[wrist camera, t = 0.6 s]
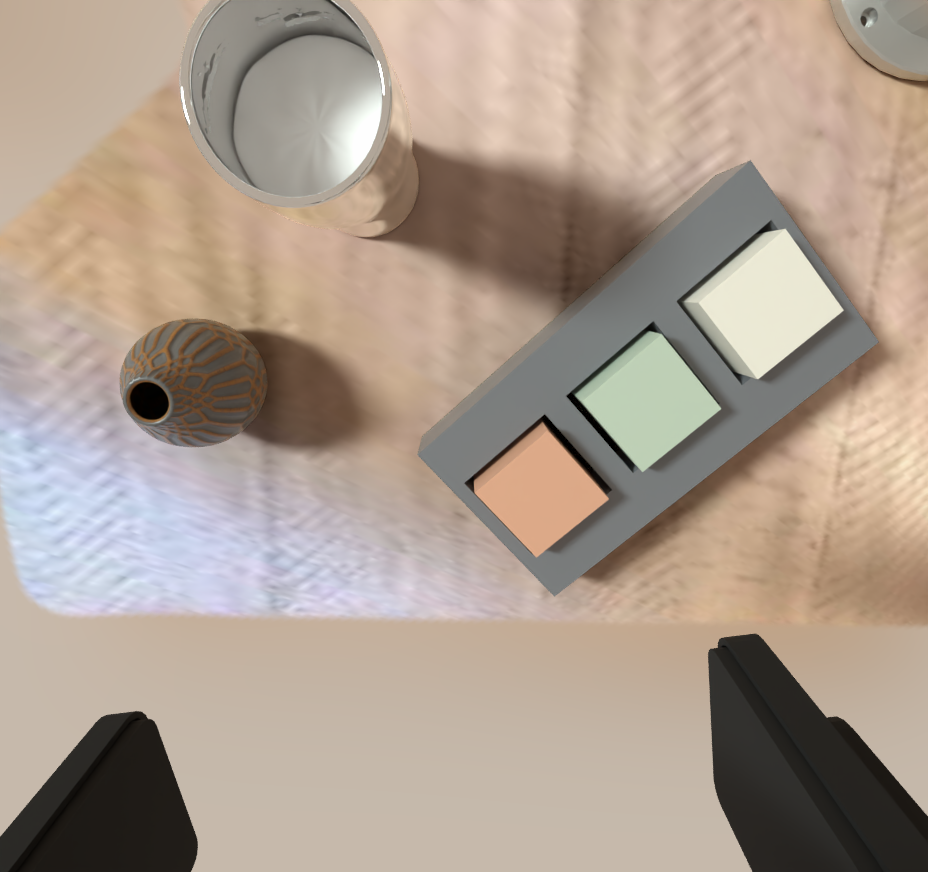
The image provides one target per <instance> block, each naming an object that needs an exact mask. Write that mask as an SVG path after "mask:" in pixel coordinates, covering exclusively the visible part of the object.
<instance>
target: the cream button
mask: <svg viewBox="0 0 928 872" xmlns="http://www.w3.org/2000/svg"><path fill="white" fill-rule="evenodd" d="M676 302H677V303H678V304H679V306H680V307H681V308H682V309H683V311H684V312H685V313H686V315H687V316H688V317H689V318H690V320H691V321H692V322H693V323H694V325H695V326H696V327H697V329H698V330H699V331H700V332H701V334H702V335H703V336H704V337H705V339H706V340H707V341H708V343H709V344H710V345H711V346H712V348H713V349H714V350H715V351H716V353H717V354H718V355H719V357H720V358H721V359H722V360H723V362H724V363H725V364H726V365H727V367H728V368H729V369H730V371H733V372H736V373H739V374H742V375H745V376H749V377H752V378H755V379H759V378H760V377H762V376H763V375H764V374H765V373H766V372H768V371H769V370H770V369H771V368H773V367H774V366H775V365H776V364H778V363H779V362H780V361H781V360H783V359H784V358H785V357H786V356H788V355H789V354H790V353H791V352H793V351H794V350H795V349H796V348H798V347H799V346H800V345H801V344H803V343H804V342H805V341H806V340H808V339H809V338H810V337H811V336H812V335H814V334H815V333H816V332H817V331H819V330H820V329H821V328H822V327H824V326H825V325H826V324H827V323H829V322H830V321H831V320H832V319H834V318H835V317H836V316H837V315H839V314H840V313H841V312H842V311H844V310H843V309H842V307H841V306H840V304H839V303H838V302H837V300H836V299H835V297H834V296H833V295H832V293H831V292H830V290H829V289H828V288H827V286H826V285H825V283H824V282H823V281H822V279H821V278H820V276H819V275H818V274H817V272H816V271H815V269H814V268H813V267H812V265H811V264H810V262H809V261H808V260H807V258H806V257H805V255H804V254H803V253H802V251H801V250H800V248H799V247H798V246H797V244H796V243H795V241H794V240H793V239H792V237H791V236H790V234H789V233H788V232H787V230H786V229H782V230H776V231H770V232H764V233H759V234H754V235H753V236H752V237H751V238H750V239H748V240H747V241H746V242H745V243H744V244H743V245H741V246H740V247H739V248H738V249H737V250H736V251H734V252H733V253H732V254H731V255H730V256H729V257H727V258H726V259H725V260H724V261H723V262H722V263H720V264H719V265H718V266H717V267H716V268H715V269H713V270H712V271H711V272H710V273H709V274H708V275H706V276H705V277H704V278H703V279H702V280H701V281H699V282H698V283H697V284H696V285H695V286H694V287H692V288H691V289H690V290H689V291H688V292H687V293H685V294H684V295H683V296H682V297H681V298H680V299H678V300H677V301H676Z"/></svg>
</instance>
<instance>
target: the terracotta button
mask: <svg viewBox="0 0 928 872" xmlns="http://www.w3.org/2000/svg"><path fill="white" fill-rule="evenodd" d="M473 478H474V492H475V494H476V495H477V496H478V497H479V498H480V499H481V500H482V501H483V502H484V503H485V504H486V505H487V507H488V508H489V509H490V510H491V511H492V512H493V513H494V514H495V515H496V516H497V517H498V518H499V519H500V520H501V521H502V522H503V523H504V524H505V525H506V526H507V527H508V528H509V530H510V531H511V532H512V533H513V534H514V535H515V536H516V537H517V538H518V539H519V540H520V541H521V542H522V543H523V544H524V545H525V546H526V547H527V548H528V549H529V550H530V551H531V552H532V554H533V555H534V556H535V557H536V558H537V557H538V556H539V555H540V554H542V553H543V552H544V551H545V550H546V549H548V548H549V547H550V546H551V545H553V544H554V543H555V542H556V541H558V540H559V539H560V538H561V537H563V536H564V535H565V534H566V533H568V532H569V531H570V530H571V529H573V528H574V527H575V526H576V525H578V524H579V523H580V522H581V521H583V520H584V519H585V518H586V517H588V516H589V515H590V514H591V513H592V512H594V511H595V510H596V509H597V508H599V507H600V506H601V505H602V504H604V503H605V502H606V501H607V500H609V498H608V497H607V495H606V494H605V492H604V491H603V490H602V488H601V487H600V485H599V484H598V482H597V481H596V479H595V478H594V477H593V475H592V474H591V473H590V472H589V471H588V470H587V469H586V467H585V466H584V465H583V464H582V463H581V462H580V461H579V460H578V458H577V457H576V456H575V455H574V454H573V453H572V452H571V451H570V449H569V448H568V447H567V446H566V445H565V444H564V443H563V442H562V440H561V439H560V438H559V437H558V436H557V435H556V434H555V433H554V432H553V430H552V429H551V428H550V427H549V426H548V425H547V424H546V423H545V421H544V420H543V419H542V418H540V419H538V420H537V421H536V422H535V423H534V424H533V425H531V426H530V427H529V428H528V429H527V430H526V431H524V432H523V433H522V434H521V435H520V436H519V437H517V438H516V439H515V440H514V441H513V442H512V443H510V444H509V445H508V446H507V447H506V448H505V449H503V450H502V451H501V452H500V453H499V454H498V455H496V456H495V457H494V458H493V459H492V460H491V461H489V462H488V463H487V464H486V465H485V466H484V467H482V468H481V469H480V470H479V471H478V472H477V473H475V474H474V475H473Z"/></svg>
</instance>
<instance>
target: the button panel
mask: <svg viewBox="0 0 928 872" xmlns="http://www.w3.org/2000/svg"><path fill="white" fill-rule="evenodd" d="M782 229H786V230H787V232H788V233H789V234H790V236H791V237H792V239H793V240H794V241H795V243H796V244H797V246H798V247H799V248H800V250H801V251H802V253H803V254H804V255H805V257H806V258H807V260H808V261H809V262H810V264H811V265H812V267H813V268H814V269H815V271H816V272H817V274H818V275H819V276H820V278H821V279H822V281H823V282H824V283H825V285H826V286H827V288H828V289H829V290H830V292H831V293H832V295H833V296H834V297H835V299H836V300H837V302H838V303H839V304H840V306H841V307H842V309H843V310H844V311H842V312H841V313H840V314H839V315H837V316H836V317H835V318H834V319H832V320H831V321H830V322H829V323H827V324H826V325H825V326H824V327H822V328H821V329H820V330H819V331H817V332H816V333H815V334H814V335H812V336H811V337H810V338H809V339H808V340H806V341H805V342H804V343H803V344H801V345H800V346H799V347H798V348H796V349H795V350H794V351H793V352H791V353H790V354H789V355H788V356H786V357H785V358H784V359H783V360H781V361H780V362H779V363H778V364H776V365H775V366H774V367H773V368H771V369H770V370H769V371H768V372H766V373H765V374H764V375H763V376H762V377H760V378H759V379H755V378H752V377H749V376H745V375H742V374H739V373H736V372H733V371H730V369H729V368H728V367H727V365H726V364H725V363H724V362H723V360H722V359H721V358H720V357H719V355H718V354H717V353H716V351H715V350H714V349H713V348H712V346H711V345H710V344H709V343H708V341H707V340H706V339H705V337H704V336H703V335H702V334H701V332H700V331H699V330H698V329H697V327H696V326H695V325H694V323H693V322H692V321H691V320H690V318H689V317H688V316H687V315H686V313H685V312H684V311H683V309H682V308H681V307H680V306H679V304H678V303H677V302H676V301H677V300H678V299H680V298H681V297H682V296H683V295H684V294H685V293H687V292H688V291H689V290H690V289H691V288H692V287H694V286H695V285H696V284H697V283H698V282H699V281H701V280H702V279H703V278H704V277H705V276H706V275H708V274H709V273H710V272H711V271H712V270H713V269H715V268H716V267H717V266H718V265H719V264H720V263H722V262H723V261H724V260H725V259H726V258H727V257H729V256H730V255H731V254H732V253H733V252H734V251H736V250H737V249H738V248H739V247H740V246H741V245H743V244H744V243H745V242H746V241H747V240H748V239H750V238H751V237H752V236H753V235H754V234H759V233H764V232H770V231H776V230H782ZM642 330H647V331H651V332H655V333H659V334H662V335H663V337H664V338H665V339H666V340H667V341H668V343H669V344H670V345H671V346H672V348H673V349H674V350H675V351H676V353H677V354H678V355H679V356H680V358H681V359H682V360H683V361H684V363H685V364H686V365H687V366H688V368H689V369H690V370H691V371H692V373H693V374H694V375H695V376H696V378H697V379H698V380H699V381H700V383H701V384H702V385H703V386H704V388H705V389H706V390H707V391H708V392H709V394H710V395H711V396H712V397H713V399H714V400H715V401H716V402H717V404H718V405H719V406H720V407H721V410H719V411H718V412H717V413H716V414H714V415H713V416H712V417H711V418H709V419H708V420H707V421H706V422H704V423H703V424H702V425H701V426H699V427H698V428H697V429H696V430H694V431H693V432H692V433H691V434H689V435H688V436H687V437H686V438H684V439H683V440H682V441H681V442H679V443H678V444H677V445H676V446H675V447H673V448H672V449H671V450H670V451H668V452H667V453H666V454H665V455H663V456H662V457H661V458H660V459H658V460H657V461H656V462H655V463H653V464H652V465H651V466H650V467H648V468H647V469H646V470H645V471H643V472H642V471H641V470H640V469H639V468H638V467H637V466H636V465H635V464H634V463H633V462H632V461H631V460H630V459H629V458H628V457H627V456H626V455H625V454H624V453H623V452H622V450H621V449H619V450H618V451H617V452H614V451H613V450H612V448H611V447H610V446H609V445H608V444H607V443H606V442H605V440H604V439H603V438H602V437H601V436H600V435H599V433H598V432H597V431H596V430H595V429H594V428H593V427H592V425H591V424H590V423H589V422H588V421H587V420H586V419H585V417H584V416H583V415H582V414H581V413H580V412H579V411H578V409H577V408H576V407H575V406H574V405H573V404H572V403H571V401H570V400H569V399H568V398H567V397H566V395H568V394H569V393H570V392H571V391H572V390H573V389H575V388H576V387H577V386H578V385H579V384H580V383H582V382H583V381H584V380H585V379H586V378H587V377H589V376H590V375H591V374H592V373H593V372H594V371H596V370H597V369H598V368H599V367H600V366H601V365H603V364H604V363H605V362H606V361H607V360H608V359H610V358H611V357H612V356H613V355H614V354H615V353H617V352H618V351H619V350H620V349H621V348H622V347H624V346H625V345H626V344H627V343H628V342H629V341H631V340H632V339H633V338H634V337H635V336H636V335H638V334H639V333H640V332H641V331H642ZM878 342H879V341H878V340H877V338H876V337H875V336H874V334H873V333H872V331H871V330H870V328H869V327H868V326H867V324H866V323H865V321H864V320H863V319H862V317H861V316H860V314H859V313H858V312H857V310H856V309H855V307H854V306H853V304H852V303H851V302H850V300H849V299H848V297H847V296H846V295H845V293H844V292H843V290H842V289H841V288H840V286H839V285H838V283H837V282H836V280H835V279H834V278H833V276H832V275H831V273H830V272H829V271H828V269H827V268H826V266H825V265H824V264H823V262H822V261H821V259H820V258H819V256H818V255H817V254H816V252H815V251H814V249H813V248H812V247H811V245H810V244H809V242H808V241H807V240H806V238H805V237H804V235H803V234H802V232H801V231H800V230H799V228H798V227H797V225H796V224H795V223H794V221H793V220H792V218H791V217H790V216H789V214H788V213H787V211H786V210H785V208H784V207H783V206H782V204H781V203H780V201H779V200H778V199H777V197H776V196H775V194H774V193H773V192H772V190H771V189H770V187H769V186H768V184H767V183H766V182H765V180H764V179H763V177H762V176H761V175H760V173H759V172H758V170H757V169H756V167H755V166H754V165H753V163H752V162H751V160H750V161H748V162H746V163H743V164H741V165H739V166H736V167H734V168H732V169H729V170H727V171H725V172H722V173H720V174H718V175H715V176H714V177H713V178H712V179H711V180H710V181H709V182H708V183H706V184H705V185H704V186H703V187H702V188H701V189H700V190H699V191H697V192H696V193H695V194H694V195H693V196H692V197H691V198H690V199H688V200H687V201H686V202H685V203H684V204H683V205H682V206H681V207H679V208H678V209H677V210H676V211H675V212H674V213H673V214H672V215H670V216H669V217H668V218H667V219H666V220H665V221H664V222H663V223H661V224H660V225H659V226H658V227H657V228H656V229H655V230H654V231H653V232H651V233H650V234H649V235H648V236H647V237H646V238H645V239H644V240H642V241H641V242H640V243H639V244H638V245H637V246H636V247H635V248H633V249H632V250H631V251H630V252H629V253H628V254H627V255H626V256H624V257H623V258H622V259H621V260H620V261H619V262H618V263H617V264H615V265H614V266H613V267H612V268H611V269H610V270H609V271H608V272H606V273H605V274H604V275H603V276H602V277H601V278H600V279H599V280H597V281H596V282H595V283H594V284H593V285H592V286H591V287H590V288H588V289H587V290H586V291H585V292H584V293H583V294H582V295H581V296H579V297H578V298H577V299H576V300H575V301H574V302H573V303H572V304H571V305H569V306H568V307H567V308H566V309H565V310H564V311H563V312H562V313H560V314H559V315H558V316H557V317H556V318H555V319H554V320H553V321H551V322H550V323H549V324H548V325H547V326H546V327H545V328H544V329H542V330H541V331H540V332H539V333H538V334H537V335H536V336H535V337H533V338H532V339H531V340H530V341H529V342H528V343H527V344H526V345H524V346H523V347H522V348H521V349H520V350H519V351H518V352H517V353H515V354H514V355H513V356H512V357H511V358H510V359H509V360H508V361H506V362H505V363H504V364H503V365H502V366H501V367H500V368H499V369H497V370H496V371H495V372H494V373H493V374H492V375H491V376H490V377H488V378H487V379H486V380H485V381H484V382H483V383H482V384H481V385H480V386H478V387H477V388H476V389H475V390H474V391H473V392H472V393H471V394H469V395H468V396H467V397H466V398H465V399H464V400H463V401H462V402H460V403H459V404H458V405H457V406H456V407H455V408H454V409H453V410H451V411H450V412H449V413H448V414H447V415H446V416H445V417H444V418H442V419H441V420H440V421H439V422H438V423H437V424H436V425H435V426H433V427H432V428H431V429H430V430H429V431H428V432H427V433H426V434H424V435H423V436H422V439H421V443H420V447H419V451H418V456H419V457H420V458H421V459H422V460H423V461H424V462H425V463H426V464H427V465H428V466H429V467H430V468H431V469H432V470H433V471H434V472H435V473H436V474H437V476H438V477H439V478H440V479H441V480H442V481H443V482H444V483H445V484H446V485H447V486H448V487H449V488H450V489H451V490H452V491H453V492H454V493H455V494H456V495H457V496H458V497H459V498H460V499H461V500H462V501H463V502H464V503H465V504H466V506H467V507H468V508H469V509H470V510H471V511H472V512H473V513H474V514H475V515H476V516H477V517H478V518H479V519H480V520H481V521H482V522H483V523H484V524H485V525H486V526H487V527H488V528H489V529H490V530H491V531H492V532H493V533H494V534H495V536H496V537H497V538H498V539H499V540H500V541H501V542H502V543H503V544H504V545H505V546H506V547H507V548H508V549H509V550H510V551H511V552H512V553H513V554H514V555H515V556H516V557H517V558H518V559H519V560H520V561H521V562H522V563H523V564H524V565H525V567H526V568H527V569H528V570H529V571H530V572H531V573H532V574H533V575H534V576H535V577H536V578H537V579H538V580H539V581H540V582H541V583H542V584H543V585H544V586H545V587H546V588H547V589H548V590H549V591H550V592H551V593H552V594H553V595H554V597H555V596H556V595H557V594H558V593H560V592H561V591H562V590H563V589H565V588H566V587H567V586H569V585H570V584H571V583H572V582H574V581H575V580H576V579H577V578H579V577H580V576H581V575H583V574H584V573H585V572H586V571H588V570H589V569H590V568H591V567H593V566H594V565H595V564H597V563H598V562H599V561H600V560H602V559H603V558H604V557H606V556H607V555H608V554H609V553H611V552H612V551H613V550H614V549H616V548H617V547H618V546H620V545H621V544H622V543H623V542H625V541H626V540H627V539H628V538H630V537H631V536H632V535H634V534H635V533H636V532H637V531H639V530H640V529H641V528H643V527H644V526H645V525H646V524H648V523H649V522H650V521H651V520H653V519H654V518H655V517H657V516H658V515H659V514H660V513H662V512H663V511H664V510H665V509H667V508H668V507H669V506H671V505H672V504H673V503H674V502H676V501H677V500H678V499H679V498H681V497H682V496H683V495H685V494H686V493H687V492H688V491H690V490H691V489H692V488H694V487H695V486H696V485H697V484H699V483H700V482H701V481H702V480H704V479H705V478H706V477H708V476H709V475H710V474H711V473H713V472H714V471H715V470H716V469H718V468H719V467H720V466H722V465H723V464H724V463H725V462H727V461H728V460H729V459H730V458H732V457H733V456H734V455H736V454H737V453H738V452H739V451H741V450H742V449H743V448H745V447H746V446H747V445H748V444H750V443H751V442H752V441H753V440H755V439H756V438H757V437H759V436H760V435H761V434H762V433H764V432H765V431H766V430H767V429H769V428H770V427H771V426H773V425H774V424H775V423H776V422H778V421H779V420H780V419H782V418H783V417H784V416H785V415H787V414H788V413H789V412H790V411H792V410H793V409H794V408H796V407H797V406H798V405H799V404H801V403H802V402H803V401H804V400H806V399H807V398H808V397H810V396H811V395H812V394H813V393H815V392H816V391H817V390H818V389H820V388H821V387H822V386H824V385H825V384H826V383H827V382H829V381H830V380H831V379H833V378H834V377H835V376H836V375H838V374H839V373H840V372H841V371H843V370H844V369H845V368H847V367H848V366H849V365H850V364H852V363H853V362H854V361H855V360H857V359H858V358H859V357H861V356H862V355H863V354H864V353H866V352H867V351H868V350H869V349H871V348H872V347H873V346H875V345H876V344H877V343H878ZM544 414H545V415H546V416H547V417H548V418H549V419H550V420H551V422H552V423H553V424H554V425H555V426H556V427H557V428H558V429H559V431H560V432H561V433H562V434H563V435H564V436H565V437H566V438H567V440H568V441H569V442H570V443H571V444H572V445H573V446H574V447H575V449H576V450H577V451H578V452H579V453H580V454H581V455H582V456H583V458H584V459H585V460H586V461H587V462H588V463H589V464H590V465H591V467H592V468H593V469H594V471H592V472H591V474H592V475H593V477H594V478H595V479H596V481H597V482H598V484H599V485H600V487H601V488H602V490H603V491H604V492H605V494H606V495H607V497H608V498H609V500H607V501H606V502H605V503H604V504H602V505H601V506H600V507H599V508H597V509H596V510H595V511H594V512H592V513H591V514H590V515H589V516H588V517H586V518H585V519H584V520H583V521H581V522H580V523H579V524H578V525H576V526H575V527H574V528H573V529H571V530H570V531H569V532H568V533H566V534H565V535H564V536H563V537H561V538H560V539H559V540H558V541H556V542H555V543H554V544H553V545H551V546H550V547H549V548H548V549H546V550H545V551H544V552H543V553H542V554H540V555H539V556H538V557H537V558H536V557H535V556H534V555H533V554H532V552H531V551H530V550H529V549H528V548H527V547H526V546H525V545H524V544H523V543H522V542H521V541H520V540H519V539H518V538H517V537H516V536H515V535H514V534H513V533H512V532H511V531H510V530H509V528H508V527H507V526H506V525H505V524H504V523H503V522H502V521H501V520H500V519H499V518H498V517H497V516H496V515H495V514H494V513H493V512H492V511H491V510H490V509H489V508H488V507H487V505H486V504H485V503H484V502H483V501H482V500H481V499H480V498H479V497H478V496H477V495H476V494H475V492H474V478H473V475H474V474H475V473H477V472H478V471H479V470H480V469H481V468H482V467H484V466H485V465H486V464H487V463H488V462H489V461H491V460H492V459H493V458H494V457H495V456H496V455H498V454H499V453H500V452H501V451H502V450H503V449H505V448H506V447H507V446H508V445H509V444H510V443H512V442H513V441H514V440H515V439H516V438H517V437H519V436H520V435H521V434H522V433H523V432H524V431H526V430H527V429H528V428H529V427H530V426H531V425H533V424H534V423H535V422H536V421H537V420H538V419H540V418H541V417H542V416H543V415H544Z"/></svg>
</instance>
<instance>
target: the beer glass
mask: <svg viewBox="0 0 928 872" xmlns="http://www.w3.org/2000/svg"><path fill="white" fill-rule="evenodd" d="M180 95H181V102H182V107H183V112H184V115H185V119H186V122H187V125H188V128H189V130H190V133H191V135H192V137H193V139H194V141H195V143H196V145H197V147H198V148H199V150H200V152H201V153H202V155H203V156H204V158H205V159H206V160H207V162H208V163H209V164H210V165H211V167H212V168H213V169H214V170H215V171H216V172H217V173H218V174H219V175H220V176H221V177H222V178H223V179H224V180H225V181H226V182H227V183H229V184H230V185H231V186H232V187H234V188H235V189H237V190H238V191H240V192H241V193H243V194H245V195H247V196H249V197H251V198H252V199H253V200H255V201H256V202H258V203H259V204H261V205H262V206H264V207H265V208H267V209H269V210H270V211H272V212H274V213H276V214H278V215H280V216H282V217H284V218H286V219H288V220H291V221H293V222H296V223H299V224H303V225H306V226H310V227H314V228H320V229H339V230H341V231H343V232H345V233H347V234H350V235H353V236H357V237H376V236H380V235H383V234H386V233H388V232H390V231H392V230H394V229H395V228H396V227H398V226H399V225H400V224H401V223H402V222H403V221H404V220H405V219H406V218H407V216H408V215H409V213H410V212H411V210H412V208H413V206H414V204H415V201H416V198H417V194H418V188H419V174H418V168H417V164H416V161H415V158H414V155H413V153H412V127H411V120H410V115H409V110H408V105H407V101H406V98H405V95H404V92H403V90H402V87H401V84H400V82H399V79H398V77H397V75H396V72H395V70H394V68H393V66H392V64H391V63H390V61H389V59H388V57H387V55H386V53H385V51H384V50H383V47H382V45H381V43H380V40H379V38H378V36H377V34H376V33H375V31H374V29H373V27H372V26H371V24H370V23H369V21H368V20H367V19H366V17H365V16H364V15H363V13H362V12H361V11H360V10H359V9H358V8H357V7H356V5H355V4H354V3H353V2H352V1H351V0H209V1H208V2H207V3H206V4H205V5H204V6H203V8H202V9H201V11H200V12H199V13H198V15H197V16H196V18H195V20H194V22H193V24H192V26H191V28H190V30H189V32H188V35H187V38H186V41H185V44H184V47H183V52H182V57H181V63H180Z"/></svg>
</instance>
